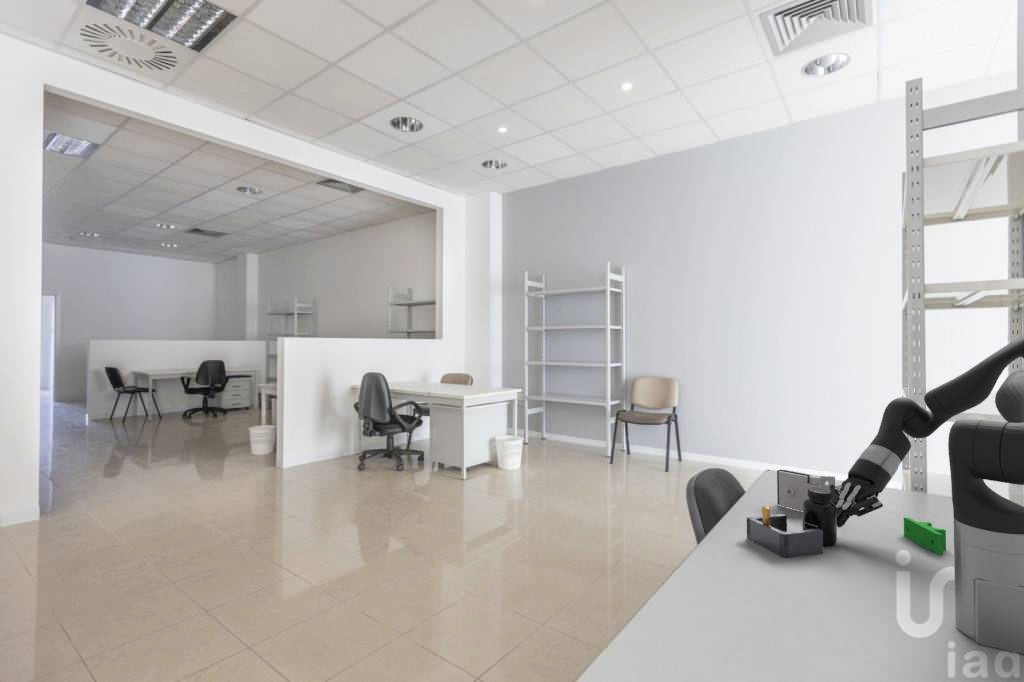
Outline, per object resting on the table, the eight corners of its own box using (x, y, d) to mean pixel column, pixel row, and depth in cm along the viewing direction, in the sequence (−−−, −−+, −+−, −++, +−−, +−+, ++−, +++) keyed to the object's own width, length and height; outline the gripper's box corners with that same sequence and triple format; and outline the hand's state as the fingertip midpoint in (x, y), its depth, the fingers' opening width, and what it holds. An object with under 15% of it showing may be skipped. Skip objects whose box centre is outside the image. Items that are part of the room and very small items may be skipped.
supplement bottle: (803, 544, 115) (802, 491, 115) (801, 534, 121) (801, 484, 121) (838, 549, 112) (838, 495, 112) (835, 539, 118) (834, 487, 118)
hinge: (836, 513, 137) (835, 476, 137) (832, 518, 133) (832, 480, 133) (779, 503, 146) (779, 468, 146) (774, 508, 142) (774, 472, 142)
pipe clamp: (956, 556, 109) (956, 535, 109) (937, 555, 109) (937, 534, 109) (920, 536, 120) (920, 517, 120) (903, 536, 120) (903, 516, 120)
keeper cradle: (783, 534, 121) (782, 497, 121) (823, 553, 110) (822, 511, 110) (746, 538, 118) (745, 500, 119) (783, 558, 107) (782, 515, 108)
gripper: (911, 485, 115) (870, 544, 112) (858, 472, 128) (820, 525, 125) (892, 463, 114) (850, 523, 111) (841, 452, 127) (802, 505, 124)
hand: (834, 524), depth 118 cm, fingers closed
